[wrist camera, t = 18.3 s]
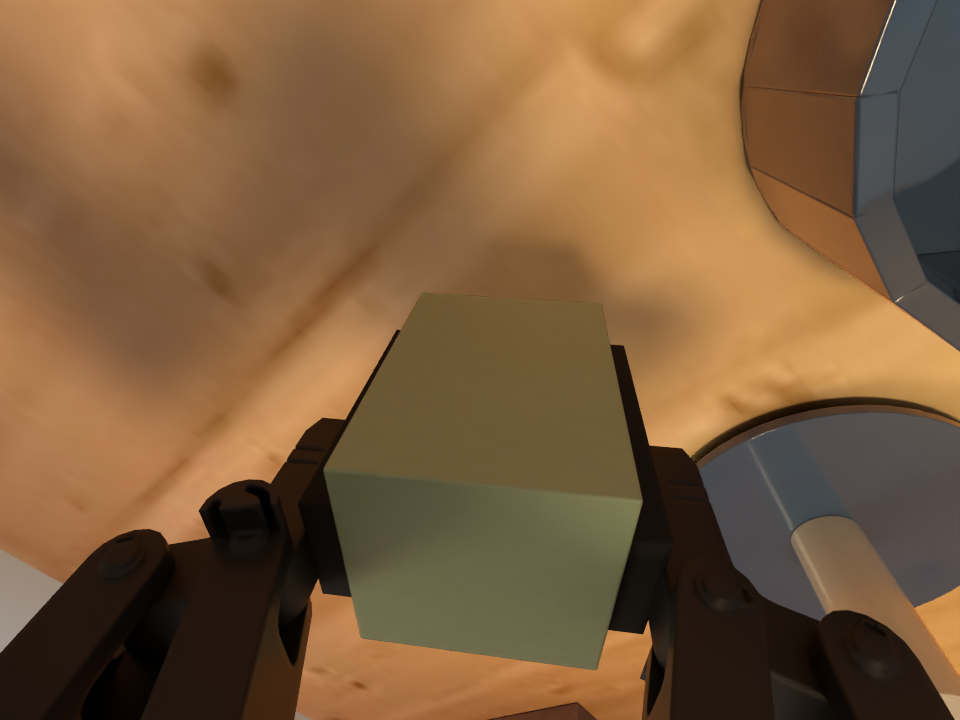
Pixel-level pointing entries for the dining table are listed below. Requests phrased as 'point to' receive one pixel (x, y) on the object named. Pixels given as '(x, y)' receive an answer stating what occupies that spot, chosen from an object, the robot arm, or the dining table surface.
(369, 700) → the dining table surface
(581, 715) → the tissue box cover
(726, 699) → the robot arm
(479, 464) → the block
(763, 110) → the bowl
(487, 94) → the dining table surface
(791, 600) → the bowl lid
